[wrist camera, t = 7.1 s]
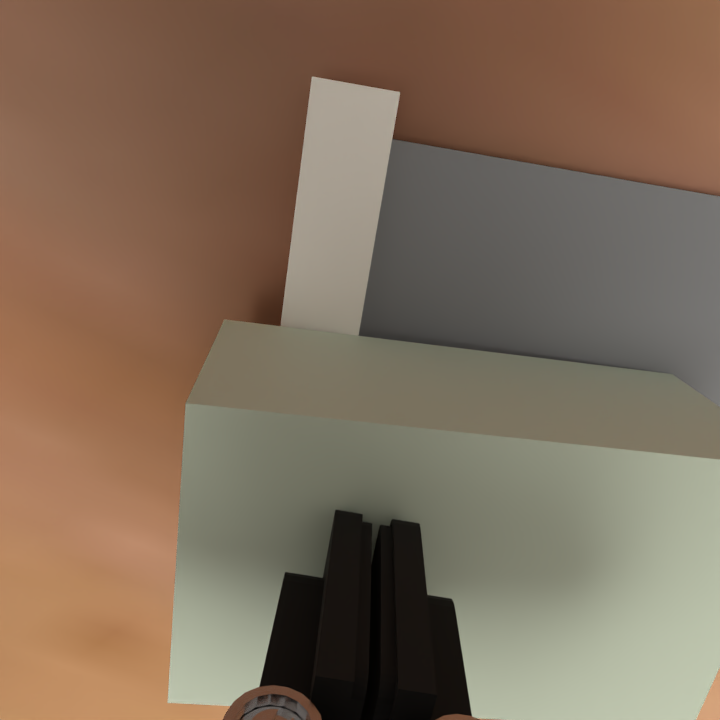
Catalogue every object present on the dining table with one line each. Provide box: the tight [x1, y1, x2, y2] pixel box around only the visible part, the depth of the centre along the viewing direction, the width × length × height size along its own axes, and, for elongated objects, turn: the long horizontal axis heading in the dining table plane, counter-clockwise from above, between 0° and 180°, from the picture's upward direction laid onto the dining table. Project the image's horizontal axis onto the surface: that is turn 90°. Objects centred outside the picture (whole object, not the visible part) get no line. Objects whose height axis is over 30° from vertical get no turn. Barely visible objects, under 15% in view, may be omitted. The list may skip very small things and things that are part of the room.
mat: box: [358, 139, 720, 407], centre depth 18 cm, size 16×12×1 cm
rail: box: [280, 77, 400, 336], centre depth 18 cm, size 18×2×2 cm, turn 171°
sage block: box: [168, 319, 720, 720], centre depth 15 cm, size 7×5×12 cm
